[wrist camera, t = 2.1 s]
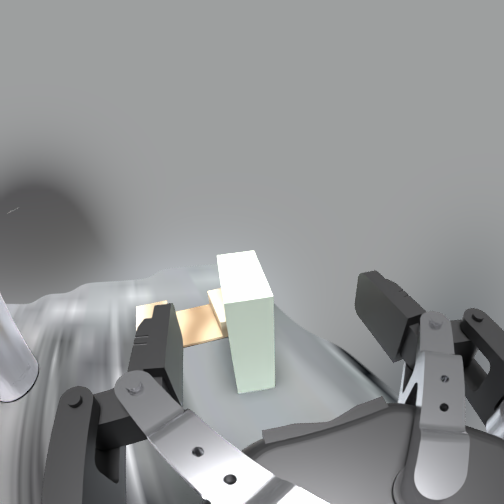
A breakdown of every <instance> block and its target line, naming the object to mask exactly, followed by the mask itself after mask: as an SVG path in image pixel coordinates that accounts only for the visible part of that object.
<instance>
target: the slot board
mask: <svg viewBox="0 0 504 504" xmlns="http://www.w3.org/2000/svg"><path fill="white" fill-rule="evenodd" d="M208 297H209V303H210V304H208V305H203V306H199V307H195V308H190V309H186V310H181V311H177V312H176V315H177V319H178V322H179V326H180V329H181V333H182V338H183V348H184V347H188V346H193V345H197V344H201V343H205V342H209V341H213V340H217V339H221V338H225V337H228V330H227V324H226V317H225V311H224V304H223V297H222V290H221V288H220V289H215V290H211V291H208ZM161 304H167V300H166V301H161V302H156V303H152V304H147V305H142V306H137V307H136V331H137V327H138V326H139V325H140V323H141V322H142V321H143V320H144V319H146V318H152V315H153V310H154V306H155V305H161Z"/></svg>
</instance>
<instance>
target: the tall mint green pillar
mask: <svg viewBox="0 0 504 504" xmlns="http://www.w3.org/2000/svg"><path fill="white" fill-rule="evenodd" d="M217 260H218V268H219V275H220V283H221V290H222V297H223V304H224V311H225V317H226V324H227V330H228V337H229V343H230V349H231V355H232V361H233V367H234V373H235V378H236V384H237V390H238V394H241V393H247V392H253V391H259V390H265V389H270V388H275V343H274V299H273V294H272V292H271V289H270V287H269V285H268V282H267V280H266V278H265V275H264V273H263V271H262V268H261V266H260V264H259V261H258V259H257V257H256V254H255V252H254V251H247V252H239V253H231V254H224V255H217Z"/></svg>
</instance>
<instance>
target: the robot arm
mask: <svg viewBox="0 0 504 504" xmlns="http://www.w3.org/2000/svg"><path fill="white" fill-rule="evenodd" d="M355 310H356V313H357V315H358V316H359V318H360V319H361V320H362V322H363V323H364V324H365V325H366V327H367V328H368V329H369V331H370V332H371V333H372V335H373V336H374V337H375V338H376V340H377V341H378V343H379V344H380V345H381V347H382V348H383V349H384V351H385V352H386V353H387V355H388V356H389V357H390V359H391V360H392V362H393V363H394V362H397V361H399V360H402V359H404V361H405V363H404V366H403V372H402V379H401V386H400V393H399V399H398V403H386V401H385V400H384V398H383V396H381V397H379V398H376V399H374V400H371V401H368V402H366V403H363V404H360V405H357V406H355V407H354V408H352V409H350V410H349V411H347V412H345V413H344V414H342V415H340V416H339V417H337V418H335V419H334V420H332V421H329V422H321V423H300V424H291V425H286V426H282V427H277V428H272V429H267V430H262V435H263V439H261V440H259V441H256V442H255V443H253V444H251V445H249V446H248V447H246V448H245V449H244V450H242V451H240V450H238V449H237V448H236V447H235V446H233V445H232V444H231V443H229V442H228V441H227V440H226V439H224V438H223V437H222V436H221V435H220V434H218V433H217V432H216V431H215V430H214V429H212V428H211V427H210V426H209V425H208V424H207V423H205V422H204V421H203V420H202V419H201V418H200V417H199V416H198V415H196V414H195V413H194V412H193V411H192V410H190V409H186V410H185V409H183V338H182V333H181V329H180V326H179V322H178V319H177V315H176V312H175V308H174V305H173V303H169V304H161V305H155V306H154V310H153V315H152V318H146V319H144V320H143V321H142V322H141V323H140V325H139V326H138V327H137V331H136V335H135V337H136V338H135V340H134V345H133V348H132V353H131V357H130V362H129V367H128V372H127V373H125V374H124V375H122V376H121V377H120V378H119V379H118V380H117V382H116V384H115V387H114V388H113V389H111V390H108V391H104V392H101V393H97V394H92V392H91V391H90V390H89V389H88V388H86V387H82V386H77V387H73V388H70V389H69V390H67V391H66V392H65V393H64V394H63V395H62V396H61V398H60V401H59V404H58V408H57V412H56V416H55V420H54V425H53V429H52V434H51V438H50V443H49V449H48V454H47V460H46V466H45V473H44V481H43V490H42V501H41V504H126V445H129V444H132V443H136V442H139V441H143V440H146V439H148V441H149V442H150V443H151V444H152V445H153V446H154V448H155V449H156V450H157V451H158V452H159V453H160V455H161V456H162V457H163V458H164V459H165V460H166V461H167V462H168V463H169V464H170V466H171V467H172V468H173V469H174V470H175V471H176V472H177V473H178V474H179V475H180V476H181V477H182V478H183V479H184V480H185V481H186V482H187V483H188V484H189V485H190V486H191V487H192V488H193V489H194V490H195V491H196V492H197V493H198V494H199V495H200V496H201V497H203V498H204V499H205V500H204V502H203V503H202V504H504V331H503V330H502V329H501V328H500V327H499V326H498V325H497V324H496V323H495V322H494V321H493V320H492V319H491V318H490V317H489V316H488V315H487V314H486V313H484V312H483V311H481V310H479V309H474V308H471V309H467V310H466V311H465V312H464V315H463V318H462V320H454V321H450V320H449V319H448V318H447V317H446V316H445V315H443V314H442V313H439V312H434V311H429V312H426V311H425V310H424V309H423V308H422V307H421V306H420V305H419V304H418V303H417V302H416V301H415V300H413V299H412V298H411V297H410V296H408V294H407V293H406V292H405V291H403V289H402V288H401V287H399V286H398V285H397V284H396V283H394V282H392V281H390V280H388V279H385V278H384V277H383V276H382V275H381V274H380V273H378V272H377V271H370V272H365V273H361V274H360V275H359V277H358V284H357V291H356V298H355ZM478 349H479V350H480V351H481V352H482V353H483V355H484V356H485V357H486V358H487V359H488V361H489V362H490V371H489V373H488V375H487V374H486V372H485V371H484V370H483V369H482V368H481V366H480V365H479V364H478V363H477V361H476V360H475V359H474V356H475V355H476V352H477V350H478ZM37 374H38V362H37V360H36V359H35V357H34V355H33V354H32V352H31V351H30V349H29V347H28V346H27V344H26V342H25V340H24V339H23V337H22V335H21V333H20V331H19V330H18V328H17V326H16V324H15V322H14V320H13V318H12V316H11V314H10V312H9V310H8V308H7V306H6V304H5V302H4V300H3V298H2V296H1V293H0V401H4V402H8V401H13V400H16V399H18V398H19V397H21V396H22V395H24V394H25V393H26V392H27V391H28V390H29V389H30V388H31V386H32V385H33V383H34V382H35V379H36V377H37ZM465 397H466V398H467V399H468V401H469V402H470V404H471V405H472V407H473V408H474V410H475V411H476V412H477V414H478V416H479V417H480V419H481V420H482V422H483V423H484V425H485V427H486V431H487V433H486V432H483V431H480V430H477V429H474V428H471V427H468V426H465Z"/></svg>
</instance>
